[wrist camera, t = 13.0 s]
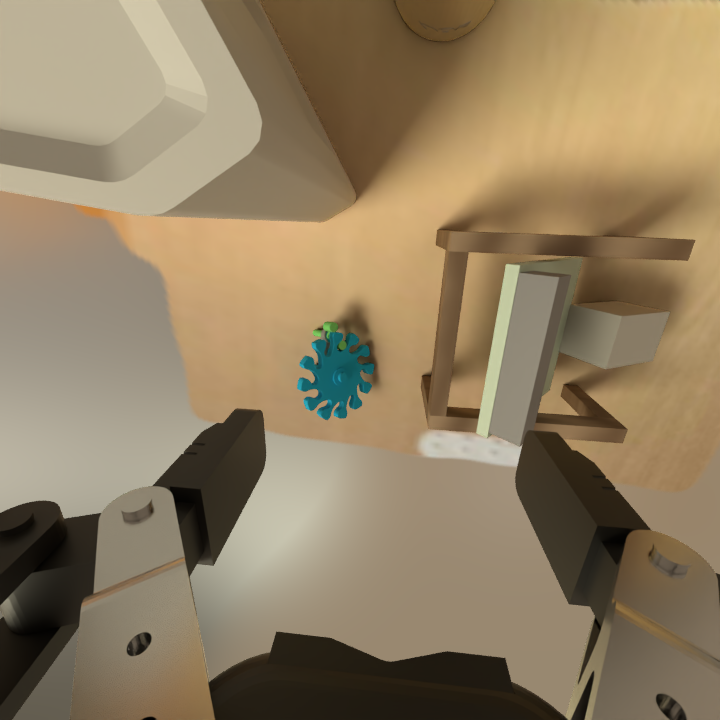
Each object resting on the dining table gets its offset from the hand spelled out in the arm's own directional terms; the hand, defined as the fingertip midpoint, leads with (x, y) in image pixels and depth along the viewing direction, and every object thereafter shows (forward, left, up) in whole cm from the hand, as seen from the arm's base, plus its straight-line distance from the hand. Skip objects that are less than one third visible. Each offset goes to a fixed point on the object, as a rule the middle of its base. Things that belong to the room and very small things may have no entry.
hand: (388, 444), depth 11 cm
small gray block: (+3, +22, -26) cm, 34 cm away
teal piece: (+9, -5, -30) cm, 32 cm away
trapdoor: (+3, +13, -22) cm, 26 cm away
